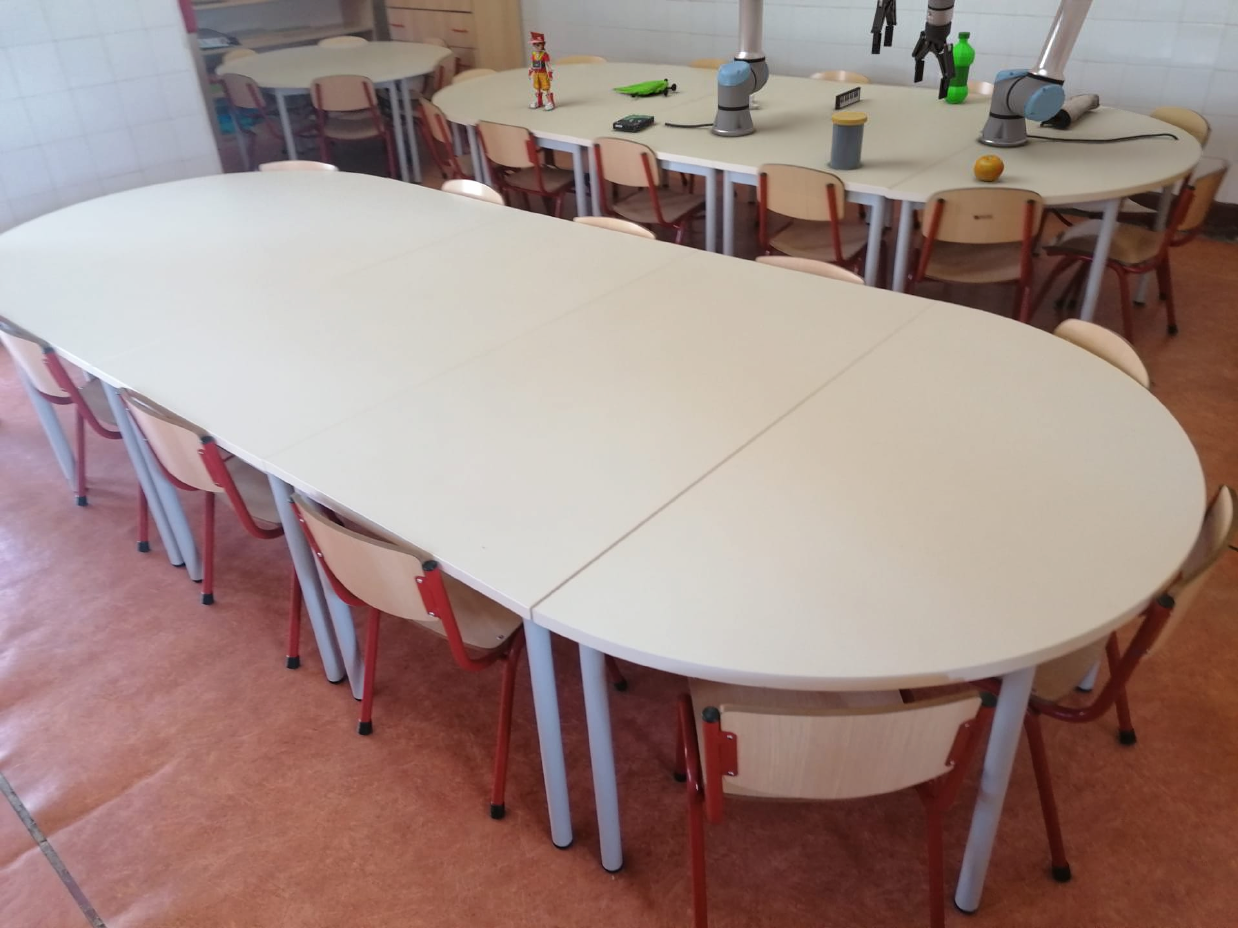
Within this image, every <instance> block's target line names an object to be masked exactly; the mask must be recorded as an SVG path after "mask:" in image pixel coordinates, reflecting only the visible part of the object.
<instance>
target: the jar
mask: <svg viewBox="0 0 1238 928" xmlns="http://www.w3.org/2000/svg"><path fill="white" fill-rule="evenodd" d="M864 132H865V123H864V124H860V125H850V126H848V125H838V124H834V123H832V133H831V145H830V157H829V166H830V167H831V168H834V169H837V170H853V169H854V170H855V169H857V168H859V167H861V161H862V152H863V151H862V150H863V142H864V134H865V133H864Z"/></svg>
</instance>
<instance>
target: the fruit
mask: <svg viewBox="0 0 1238 928" xmlns="http://www.w3.org/2000/svg"><path fill="white" fill-rule="evenodd" d="M1004 171H1005V164H1004V160H1002V159H1001V158H1000V157H998V156H997V155H995V154H994V155H993V154H992V155H991V154H986V155H983V156H982V155H981V157H979V158H977V160H976V161H975V162H974V165H973V174H974V177H976V178H977V180H980V181H983V182H985V181H986V182H988V181H989V182H991V181H996V180H997V179H998V178H1000V177H1001V175H1003V172H1004Z"/></svg>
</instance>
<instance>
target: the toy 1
mask: <svg viewBox="0 0 1238 928" xmlns="http://www.w3.org/2000/svg"><path fill="white" fill-rule="evenodd" d="M529 33H530V35H531V36H528V37H527V38H528V39H529V40H528V41H527V43H529V44H530V43H531V44H532V48H533V50H534V51H533V52H532V55H531V58H530V59H531V63H530V66H528V74H527V75H528V76H527V77H528V79H529V80H531V75H532V74H533V84H532V85H533V86H532V87H533V88H534V89H535V90H536V92H534V95H535V97H536V100H535V101H533V102H531V105H530V108H531V109H535V108H538V107H542V106H544V101H543V100H544V99H543V95H544V92H546V94H545V97H546V99H547V103H546V104H545V106H544V110H546V111H549V110H553V109H554V107H555V106H556V105H555V99H554V92H551V91H550V90H551V86H552V84H551V82H552V81H553V80H554V77H553V73H554V71H555V70H554V69H552V68H551V63H550V61H551V59H550V58H551V57H550V54H549V53H548V52H547V50H546V48H545V46H546V44H547V41H545V35H544V33H543V32H542V33H539V32H535V31H529Z"/></svg>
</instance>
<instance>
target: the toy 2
mask: <svg viewBox="0 0 1238 928" xmlns="http://www.w3.org/2000/svg"><path fill="white" fill-rule="evenodd" d="M669 85H670V83H669V79H668V78H664V79H663V80H649V81H644V82H640V83H634V84H629V85H627V86H621V87H613V88H612V89H613V90H616V91H619V92H623V93H627V94H628V93H629V94H631V95H630V96H631V98H632V99H634V98H636V96H637V95H650V94H652V93H654V94H658V93H662V95H663V96H665V97H667V96H668V95H669V90H671V91H672V92H676V91H677V84H676V83H672V84H671V86H669Z"/></svg>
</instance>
